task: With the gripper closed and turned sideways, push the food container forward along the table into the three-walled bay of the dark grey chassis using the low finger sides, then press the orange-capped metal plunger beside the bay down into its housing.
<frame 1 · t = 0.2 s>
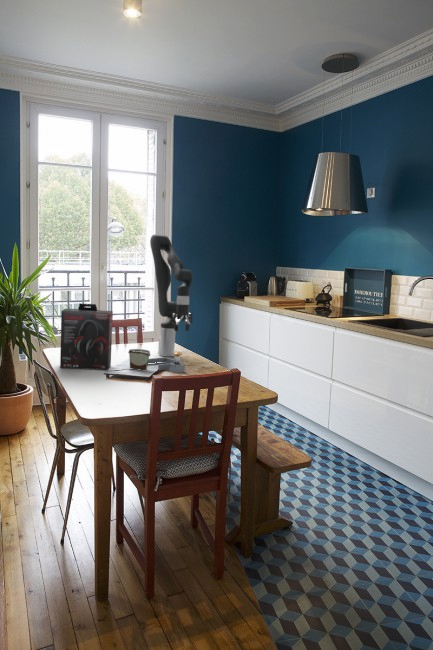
hand: (181, 330, 299), 17 cm above the table, tool pointing down, fingers open, 8 cm apart
chassis: (161, 366, 278), on the table
headset box: (85, 367, 262), on the table
food container: (140, 369, 268), on the table
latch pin: (177, 358, 268), point 7 cm above the table, slide at 0.0 cm
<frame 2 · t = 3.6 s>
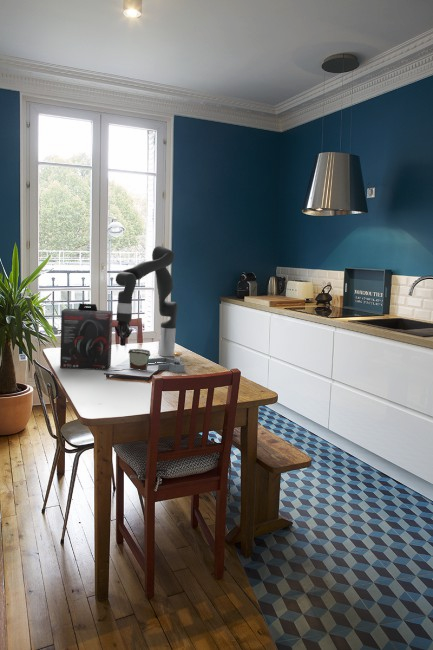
hand: (122, 345, 258), 13 cm above the table, tool pointing down, fingers closed
nothing on the table moved.
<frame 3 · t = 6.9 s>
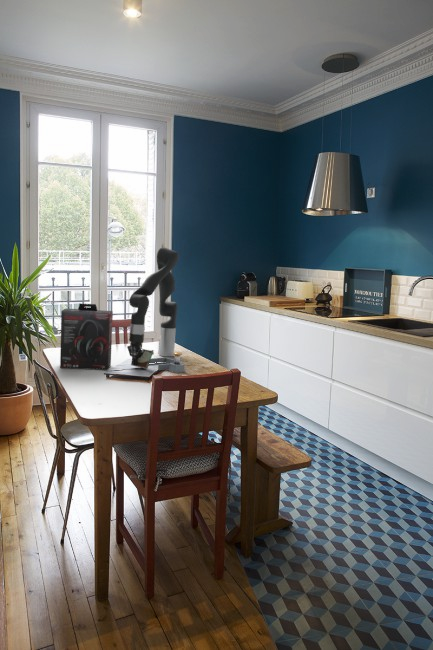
hand: (134, 365, 265), 2 cm above the table, tool pointing down, fingers closed
food container: (141, 367, 268), on the table, touching gripper, hand
everything else where it was.
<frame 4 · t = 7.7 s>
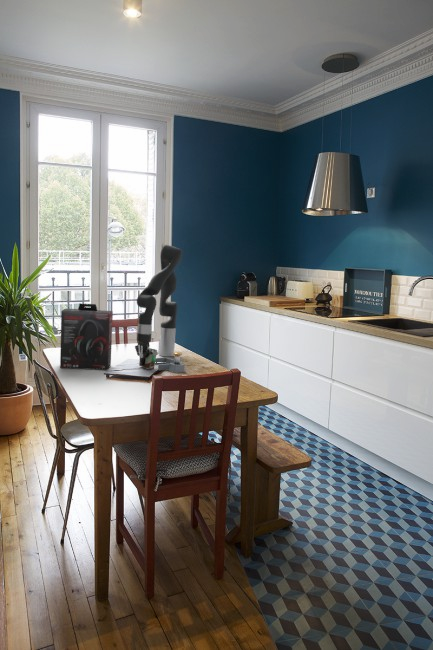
hand: (142, 364, 269), 2 cm above the table, tool pointing down, fingers closed
food container: (148, 368, 271), on the table, touching gripper, hand
everything else where it was.
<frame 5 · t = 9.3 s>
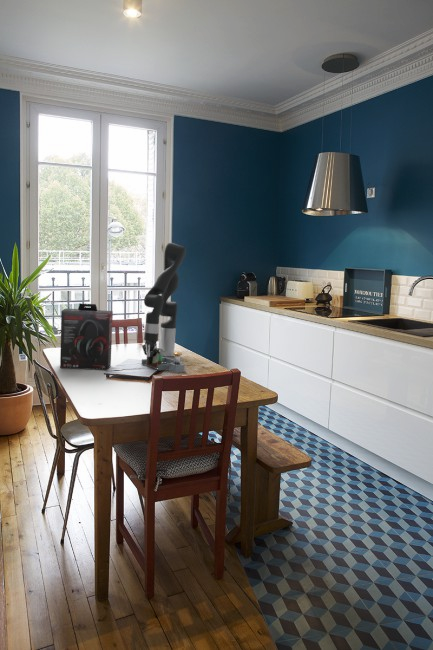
hand: (149, 363, 271), 2 cm above the table, tool pointing down, fingers closed
food container: (155, 367, 274), on the table, touching gripper, hand
everything else where it was.
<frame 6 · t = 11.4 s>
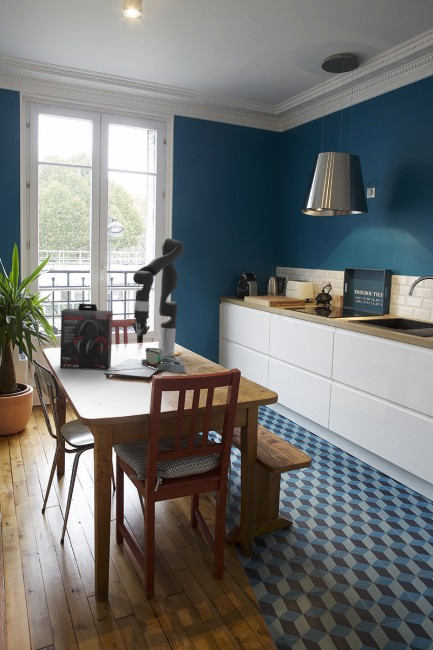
hand: (139, 342, 266), 14 cm above the table, tool pointing down, fingers closed
food container: (155, 367, 274), on the table
everything else where it was.
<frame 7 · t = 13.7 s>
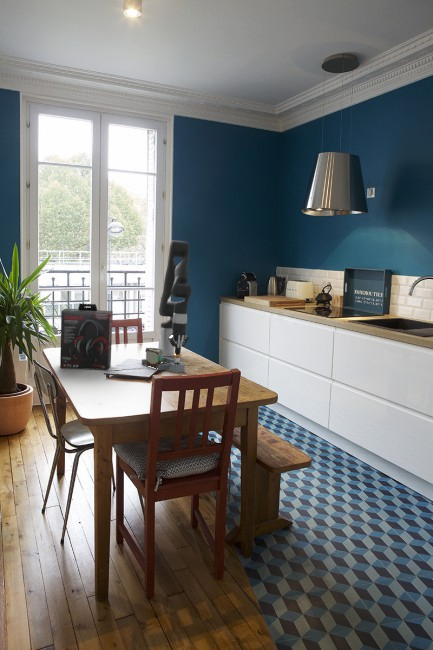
hand: (177, 354, 267), 9 cm above the table, tool pointing down, fingers closed
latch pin: (177, 359, 268), point 6 cm above the table, slide at 0.8 cm, touching gripper
everything else where it was.
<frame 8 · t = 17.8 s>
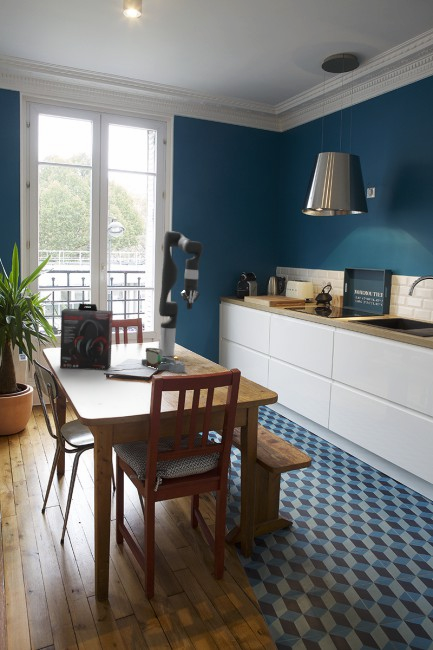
hand: (189, 309, 279), 32 cm above the table, tool pointing down, fingers closed
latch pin: (177, 362, 268), point 5 cm above the table, slide at 2.2 cm
everything else where it was.
at the end: food container inside the target area on the chassis (4.2 cm from its centre), point 0.0 cm above the chassis's base; food container tilted 0°; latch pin slide at 2.2 cm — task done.
